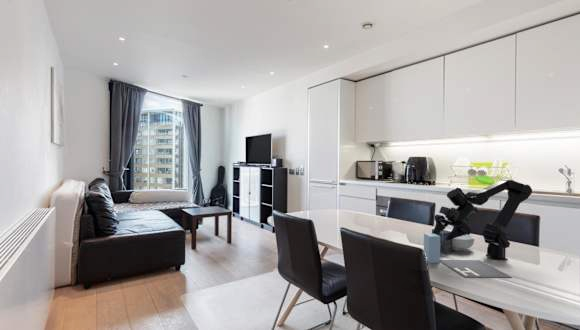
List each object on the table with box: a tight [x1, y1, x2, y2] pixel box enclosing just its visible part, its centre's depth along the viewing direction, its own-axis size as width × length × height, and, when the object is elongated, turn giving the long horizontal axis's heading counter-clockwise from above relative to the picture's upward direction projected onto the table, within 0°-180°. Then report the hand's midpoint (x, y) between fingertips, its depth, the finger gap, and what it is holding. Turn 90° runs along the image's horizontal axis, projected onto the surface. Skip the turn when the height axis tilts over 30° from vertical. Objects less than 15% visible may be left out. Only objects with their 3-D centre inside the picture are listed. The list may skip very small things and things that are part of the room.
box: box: [431, 228, 453, 255], centre depth 146 cm, size 8×6×11 cm
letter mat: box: [440, 259, 512, 279], centre depth 122 cm, size 19×19×1 cm
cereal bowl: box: [452, 234, 475, 251], centre depth 151 cm, size 17×17×7 cm
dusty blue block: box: [423, 233, 441, 264], centre depth 131 cm, size 5×5×12 cm
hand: (439, 236), depth 131 cm, fingers open, 9 cm apart
